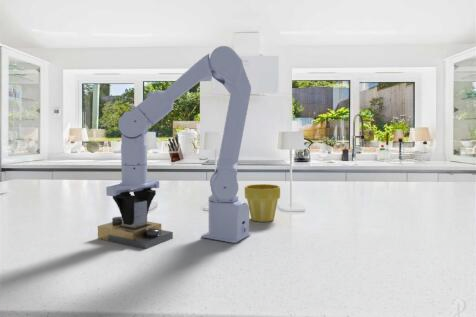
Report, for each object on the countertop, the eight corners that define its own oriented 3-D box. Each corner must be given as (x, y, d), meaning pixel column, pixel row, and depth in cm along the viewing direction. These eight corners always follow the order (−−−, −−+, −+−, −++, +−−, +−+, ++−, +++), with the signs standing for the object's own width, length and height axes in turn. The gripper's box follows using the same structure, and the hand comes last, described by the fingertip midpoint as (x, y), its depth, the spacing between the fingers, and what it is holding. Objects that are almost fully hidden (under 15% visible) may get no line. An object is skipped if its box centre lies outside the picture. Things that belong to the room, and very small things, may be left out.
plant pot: (237, 219, 99) (237, 186, 98) (259, 213, 106) (259, 182, 106) (265, 225, 92) (265, 190, 91) (286, 219, 99) (287, 186, 99)
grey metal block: (147, 233, 81) (146, 200, 80) (134, 238, 77) (134, 203, 77) (135, 231, 83) (134, 198, 82) (122, 235, 79) (121, 201, 79)
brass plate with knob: (172, 238, 80) (172, 220, 80) (145, 249, 72) (144, 229, 72) (127, 229, 87) (127, 213, 87) (97, 238, 80) (97, 220, 79)
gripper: (144, 161, 87) (145, 214, 88) (96, 165, 74) (97, 226, 75) (165, 163, 84) (165, 217, 84) (118, 167, 71) (120, 231, 72)
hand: (135, 222), depth 80 cm, fingers closed on grey metal block, 4 cm apart
